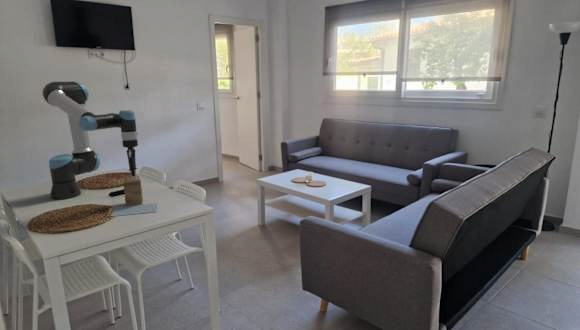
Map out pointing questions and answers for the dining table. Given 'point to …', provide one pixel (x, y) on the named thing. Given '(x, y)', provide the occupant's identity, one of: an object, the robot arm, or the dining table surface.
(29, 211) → the dining table surface
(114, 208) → the mat
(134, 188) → the walnut block
